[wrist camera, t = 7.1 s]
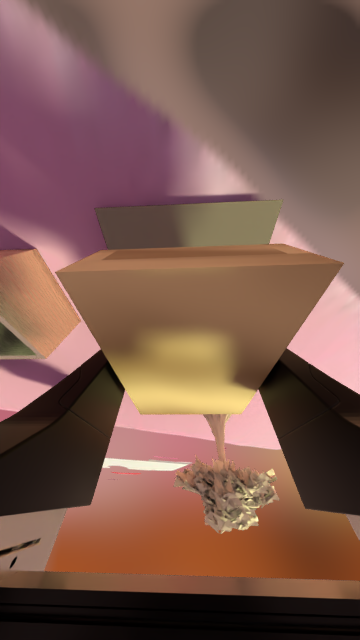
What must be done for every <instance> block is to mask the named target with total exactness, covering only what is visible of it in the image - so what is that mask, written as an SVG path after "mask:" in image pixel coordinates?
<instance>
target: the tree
mask: <svg viewBox="0 0 360 640" xmlns="http://www.w3.org/2000/svg"><path fill="white" fill-rule="evenodd" d="M231 415H232V414H203V416H204V417H205V418H206V420H207V421H208V423H209V426H210V427H211V430H212V433H213V435H214V436H215V441H216V447H217V452H218V458H219V460H216V462H215V461H214V459H213V458H212V461H213V467H212V466H211V465H207V464H204V463H202V462H201V461H200V460H199V459H198V457H197V456H196V462H195V464H192V466H190V468H191V469H192V471H191V470H189V469H188V468H187V469H185V470H184V472H182V473H181V472H180V471H179V470H178V471H177V472H176V473H175V474H176V475H177V477H176V480H175V483H174V487H179V486H184V487H183V488H182V489H185V490H189V491H192V492H195V493H197V494H200V495H201V496H202V500H204V502H203V506H205V510H204V513H205V514H206V517H205V525H210V526H211V527H212V528H214V529H215V530H216V531H217V532H218V530H222V531H221V534H222V533H223V532H224V531H231V528H235V529H239V530H244V529H248V527H249V526H248V525H254V526H258V524H257V522H256V521H258V517H257V515H256V514H255V511H254V510H257V509H256V508H259V506H260V505H262V507H263V506H264V505H265V504H268V503H271V502H273V501H272V499H275V500H280V499H279V498H278V496H277V494H276V491H275V490H274V486H272V487H271V485H270V483H271V482H274V481H276V480H277V477H276V476H275V477H274V478H272V475H275V473H274V471H273V469H271V470H270V471H268V472H265V473H264V471H263V473H261V474H260V475H259V473H257V471H256V470H255V472H254V471H253V472H252V471H251V470H250V468H249V467H247V468H245V469H242V470H240V468H238V469H237V470H236V469H235V464H234V462H233V460H232V464H231V466H230V462H229V459H228V460H227V462H226V457H225V450H224V437H225V433H224V431H225V423H226V422H227V421H228V419H229V418H230V416H231ZM267 481H268V482H267ZM251 516H253V517H252V518H251ZM250 518H251V519H250Z"/></svg>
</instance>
